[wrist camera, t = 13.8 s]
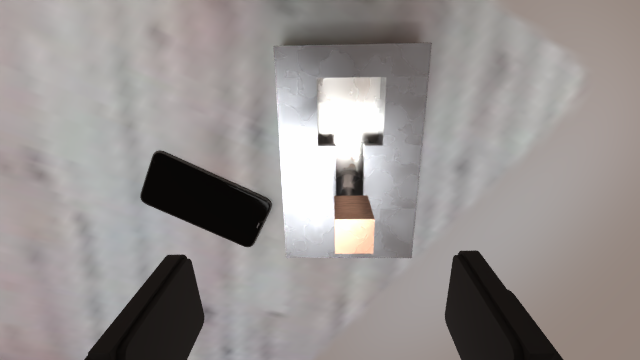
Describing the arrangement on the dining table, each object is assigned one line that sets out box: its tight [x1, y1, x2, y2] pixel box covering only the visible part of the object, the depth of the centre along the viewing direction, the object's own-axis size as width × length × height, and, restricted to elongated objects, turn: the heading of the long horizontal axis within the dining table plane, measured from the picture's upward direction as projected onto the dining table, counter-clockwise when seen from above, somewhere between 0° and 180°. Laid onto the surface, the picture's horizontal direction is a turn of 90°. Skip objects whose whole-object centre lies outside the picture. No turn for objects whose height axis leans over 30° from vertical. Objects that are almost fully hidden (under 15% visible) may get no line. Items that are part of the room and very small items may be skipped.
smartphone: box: [141, 151, 272, 247], centre depth 38 cm, size 7×1×15 cm
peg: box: [334, 171, 375, 254], centre depth 31 cm, size 4×4×11 cm
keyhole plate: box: [274, 43, 432, 258], centre depth 34 cm, size 22×14×4 cm, turn 1°
